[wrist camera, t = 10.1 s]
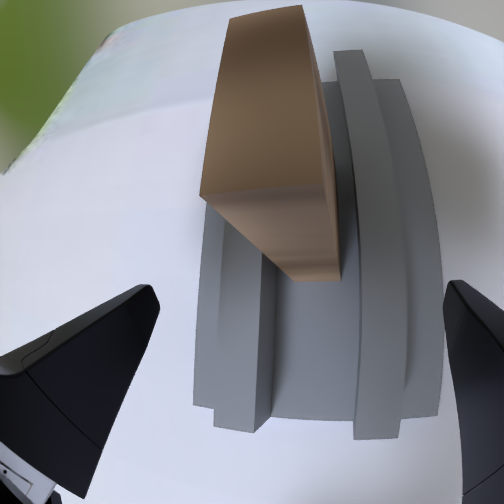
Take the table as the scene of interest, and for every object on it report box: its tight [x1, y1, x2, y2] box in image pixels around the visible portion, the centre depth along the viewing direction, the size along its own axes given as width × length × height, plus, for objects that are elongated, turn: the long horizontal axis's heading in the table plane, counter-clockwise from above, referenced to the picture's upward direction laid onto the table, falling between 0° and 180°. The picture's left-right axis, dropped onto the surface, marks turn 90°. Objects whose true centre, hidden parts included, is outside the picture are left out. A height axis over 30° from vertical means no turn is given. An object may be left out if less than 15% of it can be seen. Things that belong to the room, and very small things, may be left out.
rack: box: [193, 50, 444, 440], centre depth 16 cm, size 22×14×4 cm, turn 177°
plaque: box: [199, 5, 341, 282], centre depth 12 cm, size 7×2×11 cm, turn 177°
